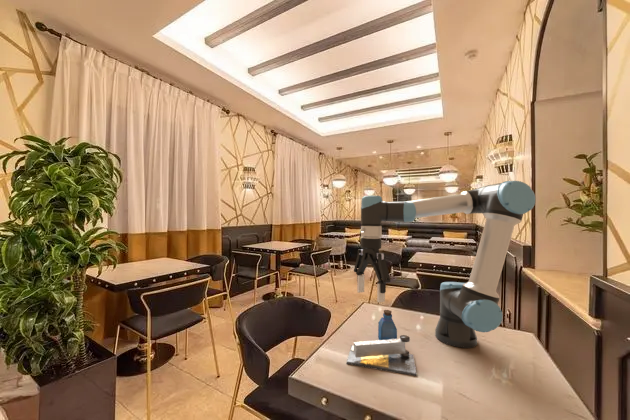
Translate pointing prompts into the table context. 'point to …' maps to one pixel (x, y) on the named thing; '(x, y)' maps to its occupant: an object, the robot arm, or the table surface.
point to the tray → (385, 362)
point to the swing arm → (380, 347)
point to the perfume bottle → (387, 327)
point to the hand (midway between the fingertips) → (370, 296)
